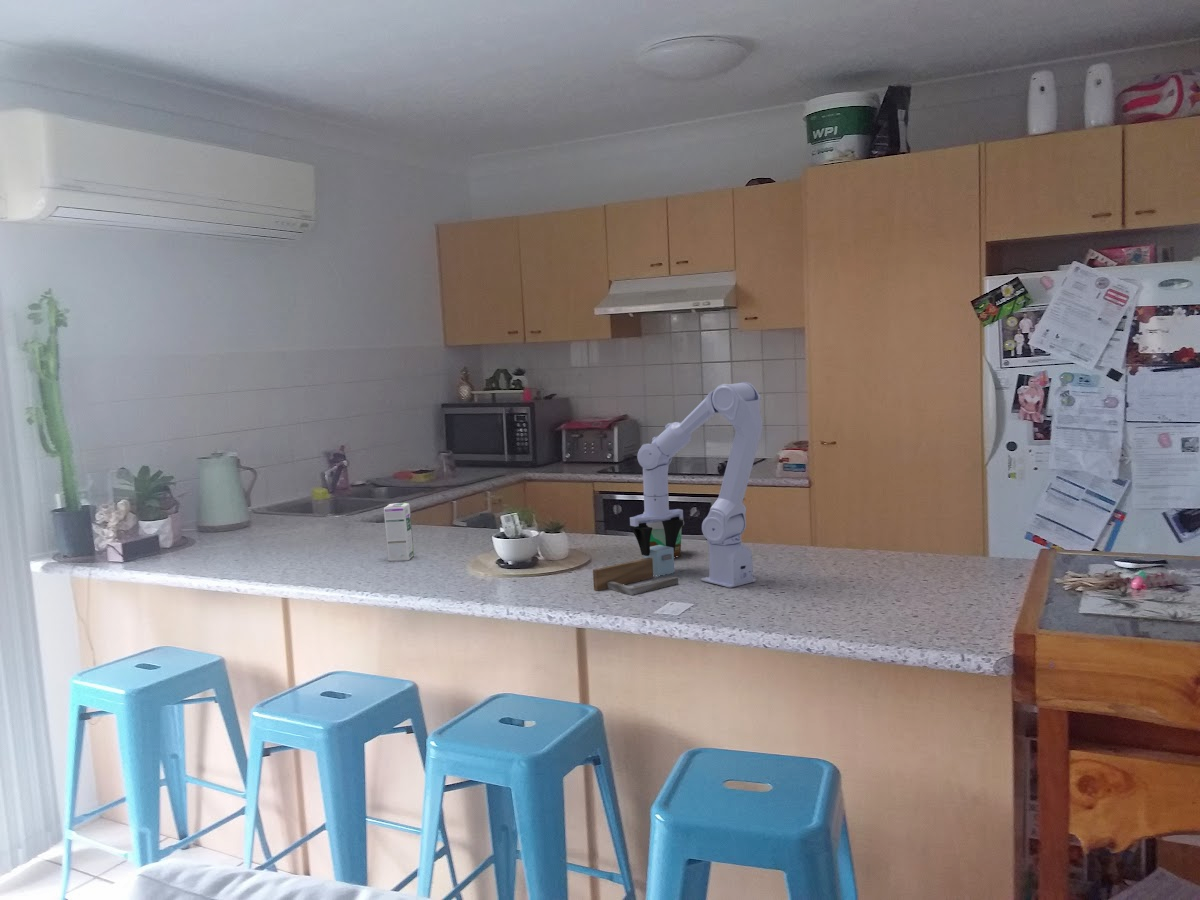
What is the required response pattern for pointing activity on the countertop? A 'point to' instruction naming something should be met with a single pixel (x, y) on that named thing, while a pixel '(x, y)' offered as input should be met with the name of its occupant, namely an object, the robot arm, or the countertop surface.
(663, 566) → the cabinet block
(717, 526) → the robot arm
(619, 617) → the countertop surface
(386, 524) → the syrup box
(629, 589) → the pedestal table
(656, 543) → the food container
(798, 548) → the countertop surface
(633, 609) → the countertop surface
